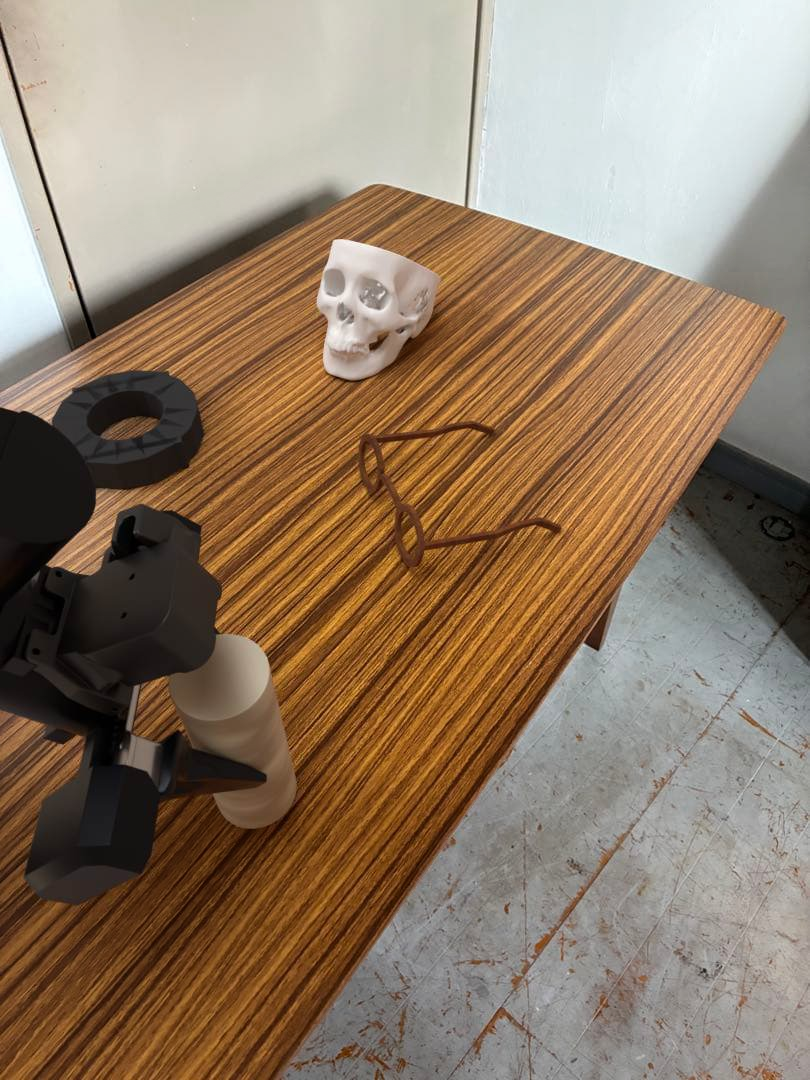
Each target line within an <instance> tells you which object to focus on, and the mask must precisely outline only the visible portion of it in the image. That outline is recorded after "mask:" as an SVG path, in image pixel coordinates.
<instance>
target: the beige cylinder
mask: <svg viewBox="0 0 810 1080" xmlns="http://www.w3.org/2000/svg"><path fill="white" fill-rule="evenodd" d="M167 684H168V685H167V686H168V693H169V696H170V698H171V701H172V704H173V706H174V708H175V710H176V713H177V716H178V717H179V719H180V723H181V724H182V726H183V729H184V731H185V733H186V735H187V738H188V741H189V743H190V746H191V748H194V749H197V750H200V751H203V752H207V753H210V754H213V755H216V756H220V757H223V758H226V759H230V760H233V761H236V762H239V763H243V764H246V765H249V766H251V767H253V768H255V769H257V770H259V771H261V772H263V773H265V774H266V775H267V782H266V783H264V784H262V785H261V786H259V787H257V788H252V789H245V790H237V791H229V792H222V793H214V794H212V796H213V798H214V802H215V803H216V805H217V808H218V810H219V812H220V814H221V815H222V816H223V817H224V819H226V820H227V822H229V823H231V824H232V825H234V826H236V827H238V828H242V829H251V830H252V829H261V828H265V827H267V826H270V825H272V824H274V823H275V822H277V821H279V820H280V819H282V817H284V816H285V815H286V814H287V812H288V811H289V810H290V809H291V807H292V805H293V803H294V800H295V799H296V796H297V795H296V794H297V789H298V786H297V784H298V783H297V776H296V772H295V768H294V763H293V760H292V756H291V752H290V747H289V743H288V738H287V734H286V729H285V726H284V722H283V717H282V712H281V707H280V704H279V700H278V695H277V692H276V687H275V683H274V678H273V674H272V671H271V665H270V662H269V659H268V657H267V655H266V652H265V651H264V650H263V649H262V647H261V646H260V645H259V644H258V643H256V642H255V641H254V640H251V639H249V638H248V637H245V636H242V635H239V634H235V633H234V634H233V633H220V634H218V635H216V643H215V648H214V651H213V653H212V655H211V657H210V658H209V660H208V661H207V662H206V663H205V664H204V665H203V666H201V667H200V668H198V669H196V670H194V671H191V672H188V673H175V674H172V675H169V676H168V683H167Z"/></svg>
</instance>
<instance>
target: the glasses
mask: <svg viewBox="0 0 810 1080" xmlns="http://www.w3.org/2000/svg"><path fill="white" fill-rule="evenodd" d="M466 429H470V430H473V431H477V432H479V433H483V434H486V435H490V436H492V435H493V434H494V433H496V429H495V427H493V426H490V425H487V424H483V423H480V422H478V421H474V420H466V421H459V422H453V423H449V424H446V425H443V426H440V427H436V428H430V429H423V430H422V429H421V430H412V431H403V432H394V433H386V434H376V435H374V434H372V433H363V434H362V436H361V437H360V440H359V443H358V452H357V453H358V454H357V461H358V468H359V473H360V477H361V480H362V482H363V485H364V486H365V489H366V490H367V491H368V492H369V493H371V494H375V493H378V492H380V490H381V488H382V485H383V484H384V486H385V488H386V490H387V493H388V494H389V496H390V497H391V499H392V502H393V504H394V508H395V510H396V512H395V517H394V528H393V531H394V539H395V544H396V547H397V550H398V553H399V555H400V557H401V559H402V561H403V563H404V564H405V565H406V566H407V567H408V568H412V569H413V568H416V567H419V566H420V565H421V564H422V562H423V558H424V555H425V551H426V552H427V551H431V550H432V551H433V550H437V549H443V548H449V547H455V546H460V545H461V546H462V545H467V544H474V543H478V542H484V541H491V540H495V539H499V538H501V537H504V536H506V535H509V534H511V533H513V532H516V531H518V530H523V529H526V528H530V527H533V526H537V527H539V528H542V529H545V530H548V531H550V532H553V533H559V532H560V531H561V530H563V527H562V525H561V524H559V523H557V522H553V521H551V520H549V519H546V518H543V517H540V516H539V517H534V518H529V519H523V520H519V521H515V522H513V523H511V524H507V525H505V526H503V527H500V528H497V529H493V530H487V531H486V530H485V531H481V532H475V533H469V534H462V535H457V536H456V535H455V536H451V537H446V538H445V537H444V538H440V539H439V538H438V539H434V540H425V533H424V528H423V523H422V521H421V518H420V516H419V514H418V513H417V511H416V509H415V508H414V506H412V504H410V503H407V502H406V503H405V502H402V500H401V496H400V495H399V493H398V490H397V488H396V487H395V485H394V483H393V481H392V479H391V477H390V476H389V475H388V474H386V471H385V470H386V469H385V462H384V456H383V452H382V448H381V446H380V444H385V443H393V442H394V443H395V442H403V441H412V440H413V441H414V440H421V439H429V438H435V437H438V436H442V435H445V434H449V433H451V432H457V431H463V430H466ZM368 445H370V446H371V448H372V449H373V452H374V455H375V460H376V468H377V469H376V470H377V472H376V478H375V481H374V484H373V483H372V481H371V479H370V477H369V475H368V471H367V468H366V458H365V457H366V456H365V455H366V448H367V446H368ZM405 513H406V514H407V515H408V516H409V518H410V520H411V521H412V525H413V527H414V529H415V536H416V551H415V554H414V557H413V558H412V557H411V555H410V554H409V553H408V551H407V549H406V547H405V543H404V540H403V534H402V525H403V524H402V523H403V518H404V515H405Z"/></svg>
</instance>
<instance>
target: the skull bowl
mask: <svg viewBox="0 0 810 1080" xmlns="http://www.w3.org/2000/svg"><path fill="white" fill-rule="evenodd" d="M441 281H442V279H441V277H440V276H439V275H438V274H437V273H436V272H434V271H432V270H431V269H429V268H427V267H425V266H423V265H421V264H419V263H417V262H415V261H414V260H412V259H409V258H407V257H405V256H403V255H400V254H398V253H395V252H393V251H389V250H387V249H384V248H381V247H377V246H374V245H371V244H367V243H362V242H358V241H354V240H349V239H342V238H341V239H333V240H332V244H331V247H330V251H329V256H328V259H327V263H326V265H325V266H324V268H323V271H322V275H321V281H320V285H319V290H318V293H317V297H316V307H317V310H318V311H319V312H320V313H321V314H323V315H324V316H325V317H326V320H327V328H326V334H325V339H324V344H323V350H322V362H323V368H324V370H325V371H326V372H327V373H328V374H329V375H330V376H335V377H338V378H340V379H342V380H343V379H344V380H347V381H359V380H363V379H367V378H370V377H373V376H375V375H377V374H378V373H380V372H382V370H384V369H385V368H386V367H388V366H390V365H391V364H392V363H393V362H395V360H396V359H397V357H398V355H399V354H400V352H401V350H402V348H403V347H404V345H405V343H406V342H407V341H408V339H409V338H410V339H415V338H416V337H418V336H420V334H421V332H422V331H423V330H424V329H425V328H426V326H427V325H428V323H429V322H430V319H431V317H432V315H433V311H434V307H435V301H436V296H437V293H438V292H439V291H438V290H439V287H440V285H441ZM402 330H403V331H402ZM384 333H388V335H387V337H385V339H384V340H383V342H382V343H381V344H380V345H379V347H377V348H376V349H370V345H371V344H373V343H377V342H378V336H379V335H380V334H384Z"/></svg>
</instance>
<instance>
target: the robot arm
mask: <svg viewBox="0 0 810 1080" xmlns="http://www.w3.org/2000/svg"><path fill="white" fill-rule="evenodd" d="M96 506H97V487H95V483H94V479H93V475H92V472H91V470H90V468H89V466H88V464H87V462H86V461H85V459H84V457H83V456H82V454H81V453H80V452H79V450H78V449H77V448H76V447H75V445H74V444H73V443H72V442H71V441H70V440H69V439H68V438H67V437H66V436H65V435H64V434H63V433H62V432H60V431H59V430H58V429H57V428H55V427H54V426H52V423H49V422H48V421H47V420H45V419H43V418H42V417H40V416H38V415H36V414H34V413H32V412H30V411H28V410H20V411H16V410H12V409H9V408H6V407H2V406H1V407H0V711H1V712H5V713H8V714H11V715H14V716H17V717H20V718H22V719H26V720H29V721H33V722H35V723H38V724H42V725H44V726H45V729H44V734H43V737H42V739H43V740H47V741H50V742H53V743H56V744H59V745H62V746H65V744H67V743H68V742H69V741H71V740H73V739H74V738H75V737H77V736H78V737H82V738H85V741H84V745H83V746H84V747H83V750H82V753H81V758H80V763H79V767H78V771H77V776H76V777H74V778H73V779H71V780H70V781H68V782H67V783H65V784H63V786H61V787H59V788H58V789H57V790H55V791H53V792H52V793H50V794H49V795H47V796H46V797H44V798H42V801H41V804H40V805H41V806H40V809H39V812H38V817H37V821H36V824H35V829H34V833H33V837H32V840H31V841H32V842H31V846H30V849H29V853H28V857H27V861H26V865H25V869H24V873H23V877H22V878H23V879H24V881H25V882H26V883H27V884H28V885H29V887H30V888H31V889H32V890H33V892H34V893H35V894H36V895H37V896H38V897H39V898H40V899H42V900H45V901H49V902H55V903H61V904H65V905H70V906H75V907H79V906H81V905H83V904H85V903H87V902H89V901H90V900H93V899H95V898H98V896H100V895H103V894H105V893H106V892H109V891H110V890H113V889H114V888H116V887H118V886H120V885H122V884H125V883H126V882H128V881H131V880H132V879H134V878H136V877H138V876H140V875H142V873H143V872H144V870H145V869H146V866H147V864H148V863H149V861H150V859H151V857H152V854H153V853H152V852H153V847H154V841H155V835H156V827H157V821H158V814H159V807H160V805H161V804H163V803H165V802H167V801H171V800H177V799H184V798H189V797H197V796H205V795H213V794H214V793H222V792H229V791H237V790H245V789H252V788H257V787H259V786H261V785H262V784H264V783H266V782H267V775H266V774H265V773H263V772H261V771H259V770H257V769H255V768H253V767H251V766H249V765H246V764H243V763H239V762H236V761H233V760H230V759H226V758H223V757H220V756H216V755H213V754H210V753H207V752H203V751H200V750H197V749H194V748H193V747H192V746H191V745H189V743H188V741H187V740H186V739H187V738H185V735H184V734H183V732H182V730H180V729H176V730H174V731H173V732H171V733H170V734H169V735H167V736H165V737H164V738H162V739H160V740H159V741H154V740H151V739H148V738H146V737H143V736H139V735H137V734H136V733H135V732H134V727H135V721H136V716H137V712H138V711H137V710H138V706H139V705H138V704H139V701H140V695H141V690H142V685H143V684H146V683H150V682H152V681H156V680H159V679H162V678H165V677H169V675H172V674H175V673H188V672H191V671H194V670H196V669H198V668H200V667H201V666H203V665H204V664H205V663H206V662H207V661H208V660H209V658H210V657H211V655H212V653H213V651H214V648H215V643H216V635H218V634H221V633H220V631H219V630H218V629H217V627H216V619H217V611H218V604H219V601H220V600H221V599H222V596H223V595H222V594H223V586H222V584H221V582H220V580H218V579H217V578H216V577H215V576H214V575H213V574H212V573H211V572H210V571H209V570H208V569H206V567H205V566H203V565H202V564H201V563H200V562H199V559H200V553H201V547H202V545H201V544H202V539H203V538H202V535H201V534H202V527H203V526H202V525H201V524H199V523H197V522H196V521H193V520H192V519H190V518H188V517H186V516H184V515H182V514H180V513H178V512H176V511H175V510H173V509H170V510H169V509H166V510H165V509H164V510H158V509H156V508H153V507H151V506H149V505H146V504H144V503H142V502H141V503H138V504H135V505H133V506H131V507H128V508H126V509H123V510H120V511H119V512H118V513H117V514H116V519H115V523H114V527H113V531H112V535H111V539H110V546H108V548H107V549H106V550H104V554H103V557H102V560H101V563H100V567H99V570H98V571H96V572H94V573H92V574H83V573H76V572H72V571H70V570H68V569H65V568H63V567H61V566H53V567H51V566H49V565H48V563H49V562H51V561H52V559H53V558H55V557H56V556H57V555H58V554H59V553H60V552H61V550H63V549H64V548H65V547H67V545H68V544H69V543H70V542H71V541H72V540H73V539H74V538H75V537H76V536H77V535H79V533H81V532H82V531H83V529H85V528H86V527H87V525H88V523H89V521H90V520H91V519H92V517H93V515H94V513H95V510H96Z"/></svg>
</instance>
